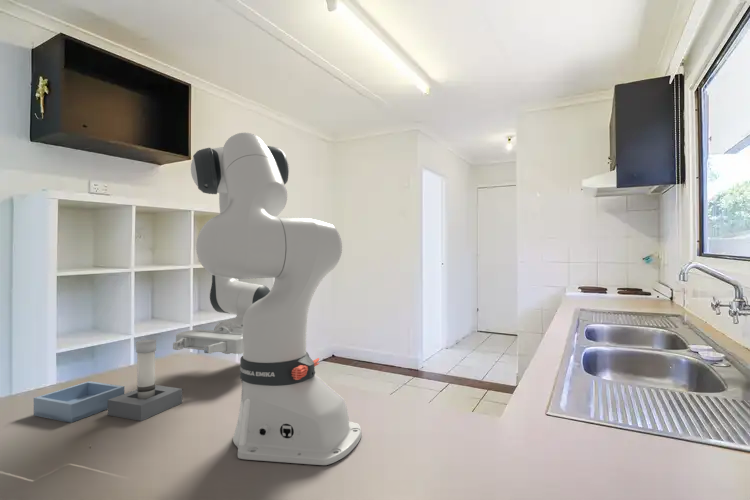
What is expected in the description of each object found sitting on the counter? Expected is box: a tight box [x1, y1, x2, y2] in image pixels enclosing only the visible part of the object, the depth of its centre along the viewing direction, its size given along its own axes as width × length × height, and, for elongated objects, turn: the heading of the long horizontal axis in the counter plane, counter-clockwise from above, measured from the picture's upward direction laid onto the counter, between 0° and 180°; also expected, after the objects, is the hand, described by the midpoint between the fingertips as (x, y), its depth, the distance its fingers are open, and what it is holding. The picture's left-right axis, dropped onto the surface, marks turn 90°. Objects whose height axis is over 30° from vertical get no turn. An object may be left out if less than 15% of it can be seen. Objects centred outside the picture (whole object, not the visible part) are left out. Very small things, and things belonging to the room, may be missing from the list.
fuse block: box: [107, 384, 183, 422], centre depth 84 cm, size 9×10×3 cm
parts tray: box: [33, 380, 125, 424], centre depth 84 cm, size 11×11×4 cm
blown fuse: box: [135, 338, 157, 400], centre depth 84 cm, size 4×4×14 cm
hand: (190, 348), depth 95 cm, fingers open, 8 cm apart
